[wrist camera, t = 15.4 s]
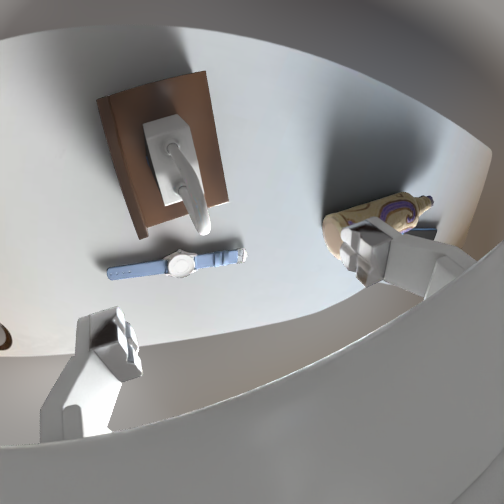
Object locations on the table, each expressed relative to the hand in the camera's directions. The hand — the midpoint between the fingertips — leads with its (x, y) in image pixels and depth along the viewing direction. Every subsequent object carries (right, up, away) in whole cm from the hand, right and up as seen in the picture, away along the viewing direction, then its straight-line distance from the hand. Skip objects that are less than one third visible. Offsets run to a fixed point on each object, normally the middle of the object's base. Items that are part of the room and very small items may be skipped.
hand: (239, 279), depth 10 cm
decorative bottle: (+22, +8, +40) cm, 46 cm away
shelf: (-10, +13, +21) cm, 26 cm away
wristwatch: (-10, 0, +30) cm, 31 cm away
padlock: (-8, +10, +16) cm, 21 cm away
